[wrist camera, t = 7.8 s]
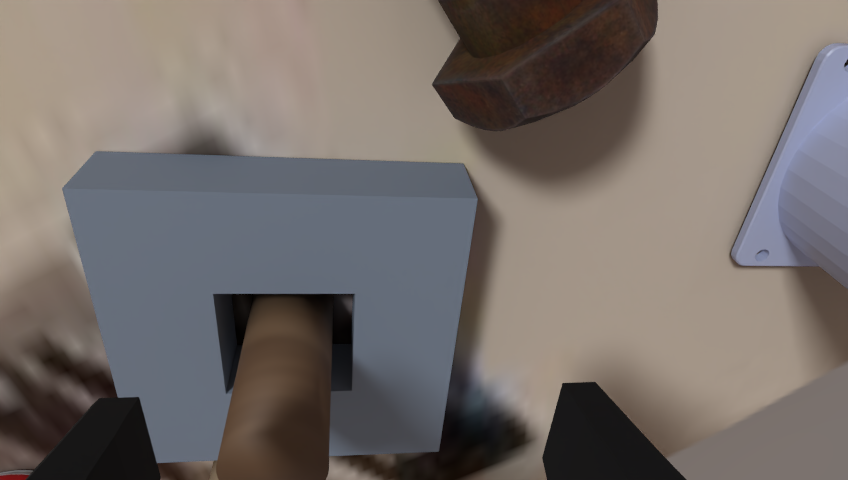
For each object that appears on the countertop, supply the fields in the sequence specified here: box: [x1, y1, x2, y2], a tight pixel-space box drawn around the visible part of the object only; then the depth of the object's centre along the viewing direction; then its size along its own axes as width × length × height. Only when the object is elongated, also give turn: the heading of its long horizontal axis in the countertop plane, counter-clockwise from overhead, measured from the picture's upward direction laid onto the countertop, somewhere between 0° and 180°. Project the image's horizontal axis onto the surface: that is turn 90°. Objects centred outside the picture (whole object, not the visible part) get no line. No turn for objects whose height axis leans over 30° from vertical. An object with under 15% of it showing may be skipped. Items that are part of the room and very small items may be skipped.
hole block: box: [62, 151, 478, 463], centre depth 20 cm, size 11×11×2 cm
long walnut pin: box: [216, 294, 333, 480], centre depth 18 cm, size 3×3×7 cm
